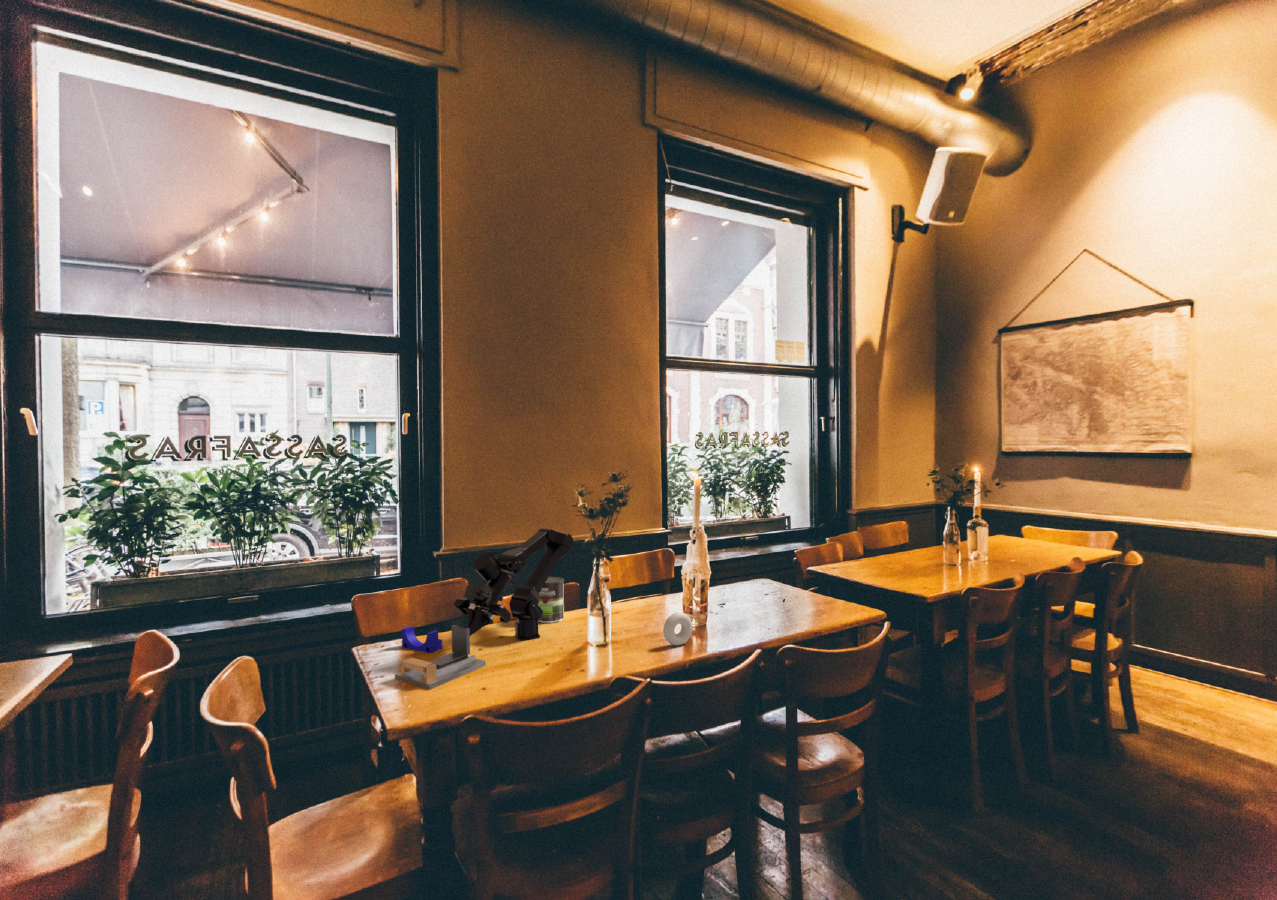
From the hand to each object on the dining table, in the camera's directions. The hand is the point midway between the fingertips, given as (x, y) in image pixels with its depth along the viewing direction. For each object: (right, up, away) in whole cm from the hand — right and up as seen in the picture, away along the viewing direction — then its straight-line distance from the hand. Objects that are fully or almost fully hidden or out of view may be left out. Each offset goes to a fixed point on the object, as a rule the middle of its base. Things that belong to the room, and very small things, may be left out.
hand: (466, 636), depth 170 cm
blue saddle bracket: (-17, -8, +12) cm, 23 cm away
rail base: (-5, -7, -8) cm, 12 cm away
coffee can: (+18, -7, +41) cm, 45 cm away
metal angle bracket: (-3, -6, -6) cm, 9 cm away
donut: (+61, -6, +11) cm, 63 cm away
